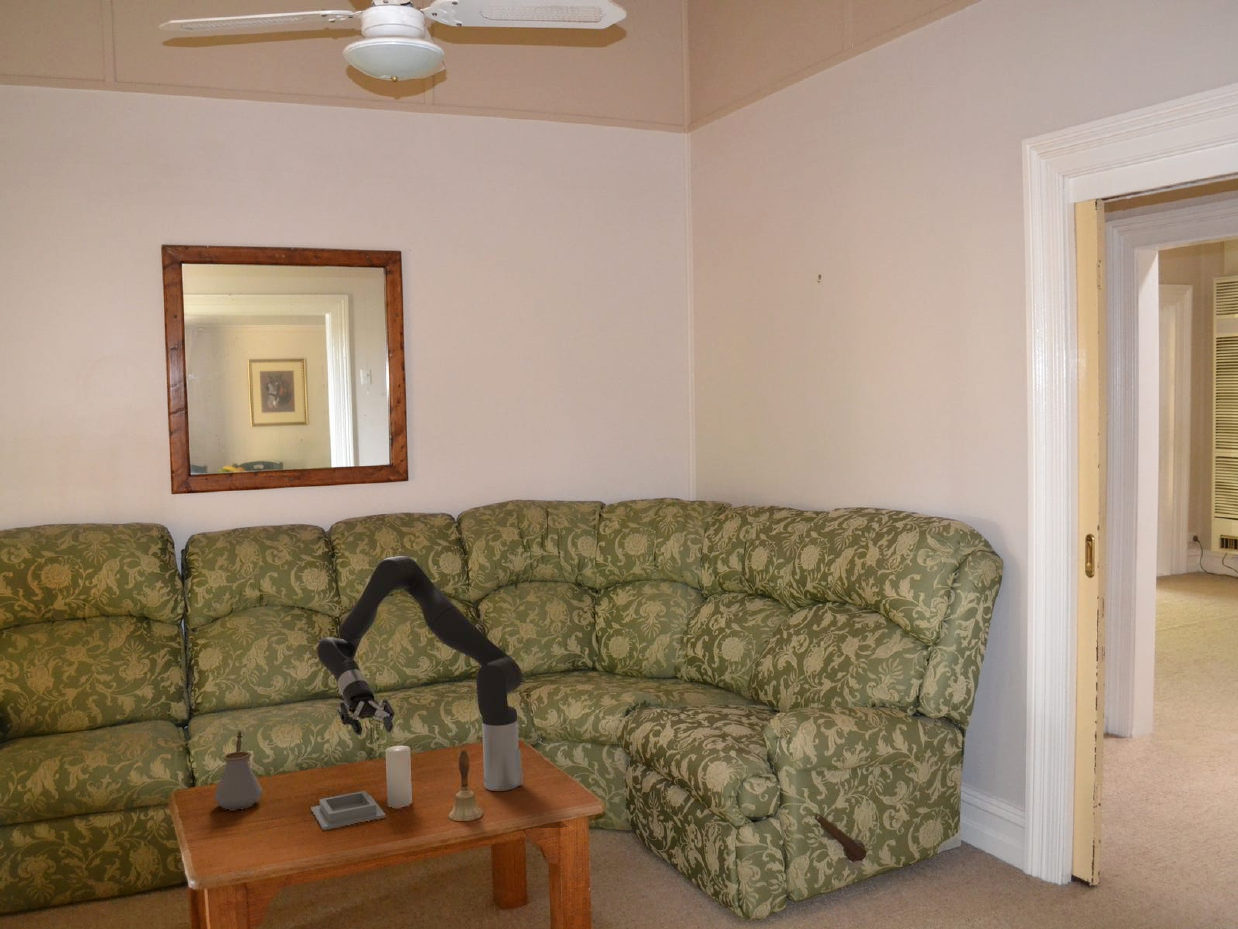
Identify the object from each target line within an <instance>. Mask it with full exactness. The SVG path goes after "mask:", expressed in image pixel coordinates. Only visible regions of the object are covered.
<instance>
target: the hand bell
mask: <svg viewBox="0 0 1238 929" xmlns="http://www.w3.org/2000/svg"><path fill="white" fill-rule="evenodd" d="M458 769H459V774H460V778H461V781H460V784H461V785H460V787H461V788H460V790H459V792H457V793H456V794H455V801H454V805H453V809H452V810H451V811H450V812H449V813H448V818H449V819H450V820H451V821H453V822H470V821H475V820H478V819H479V818H481V817H482V816H484V811H483V810H482V809H481V808H480V807H479V806H478V804H477V801H476V797H475V793H474V791H472V790H470V789H469V779H468V776H469V771H470V758H469V755H468V752H467V750H466V749H462V750H461V751H460V754H459V759H458Z"/></svg>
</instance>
